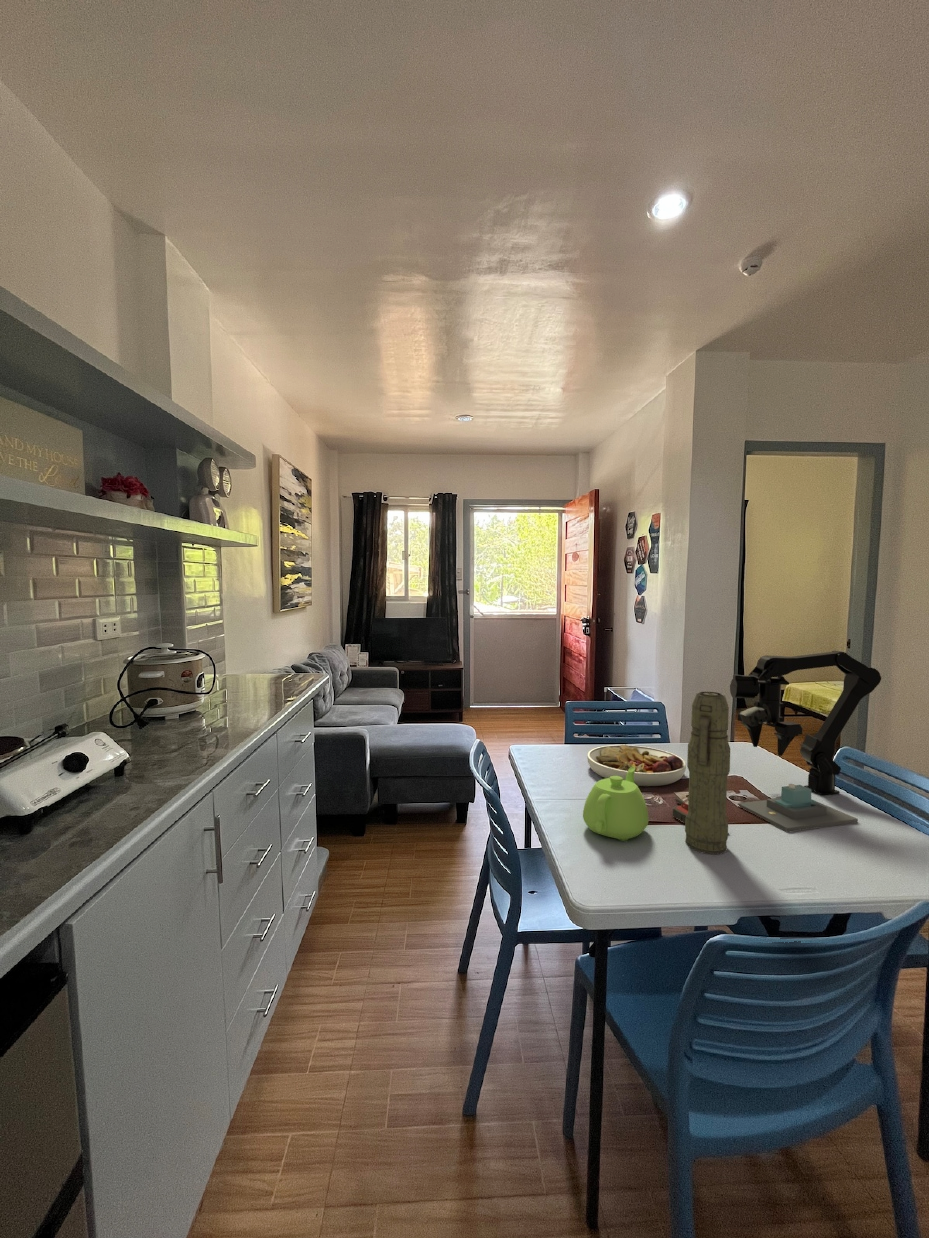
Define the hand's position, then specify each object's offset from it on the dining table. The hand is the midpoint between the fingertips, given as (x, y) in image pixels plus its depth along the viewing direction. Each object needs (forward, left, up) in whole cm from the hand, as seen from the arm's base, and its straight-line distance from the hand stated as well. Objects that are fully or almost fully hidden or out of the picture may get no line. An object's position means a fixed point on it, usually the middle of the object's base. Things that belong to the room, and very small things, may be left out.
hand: (767, 751), depth 162 cm
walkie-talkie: (+36, +13, -12) cm, 40 cm away
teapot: (+58, +14, -11) cm, 61 cm away
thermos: (+43, +27, -11) cm, 52 cm away
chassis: (+8, +18, -11) cm, 23 cm away
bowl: (+30, -22, -12) cm, 39 cm away
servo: (+8, +18, -10) cm, 22 cm away
